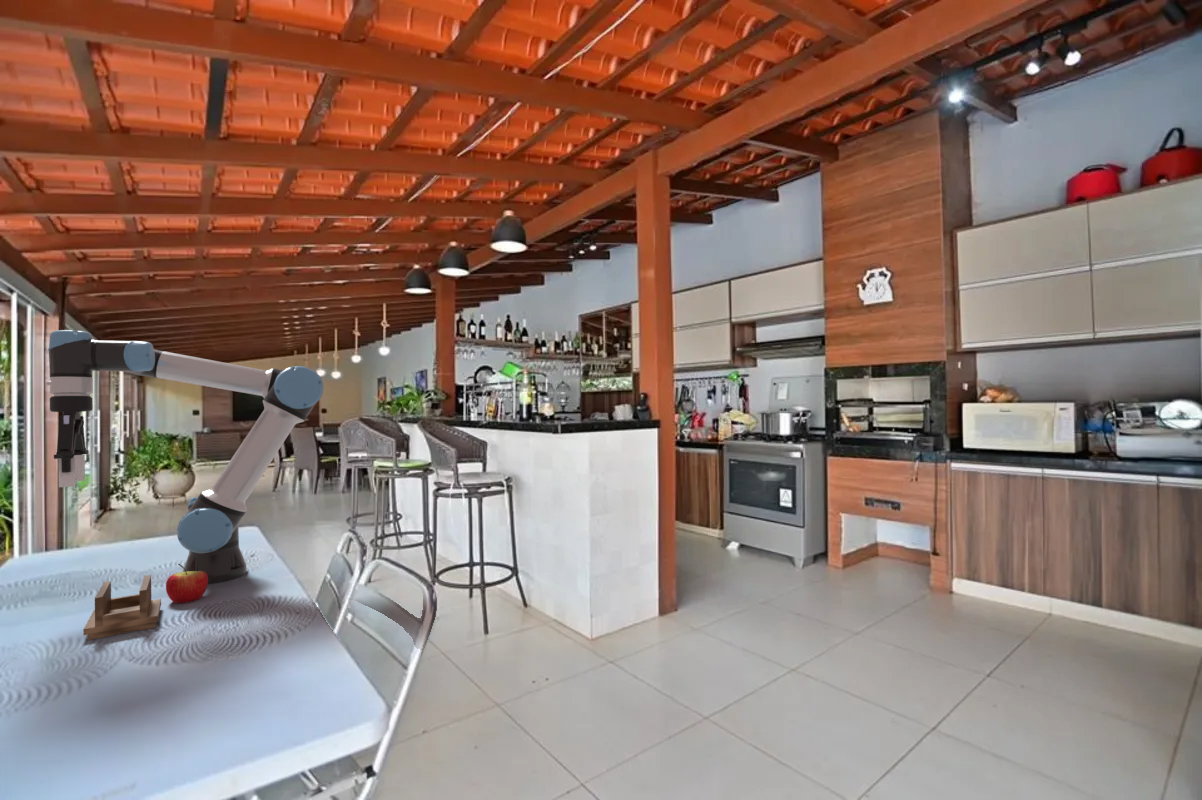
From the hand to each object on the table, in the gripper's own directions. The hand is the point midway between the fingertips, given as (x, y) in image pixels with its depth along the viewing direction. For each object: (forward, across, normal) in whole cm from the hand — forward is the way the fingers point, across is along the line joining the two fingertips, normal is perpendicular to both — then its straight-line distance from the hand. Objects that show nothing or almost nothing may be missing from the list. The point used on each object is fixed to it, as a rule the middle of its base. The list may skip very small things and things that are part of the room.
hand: (72, 484), depth 135 cm
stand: (+31, +20, +11) cm, 38 cm away
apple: (+31, +9, +22) cm, 39 cm away
